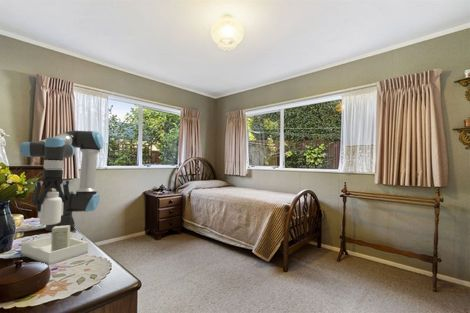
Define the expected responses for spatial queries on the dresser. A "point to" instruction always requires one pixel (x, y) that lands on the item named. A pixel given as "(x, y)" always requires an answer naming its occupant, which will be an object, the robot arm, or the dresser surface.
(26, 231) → the dresser surface
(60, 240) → the skincare box
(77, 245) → the tray
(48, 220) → the pill bottle
